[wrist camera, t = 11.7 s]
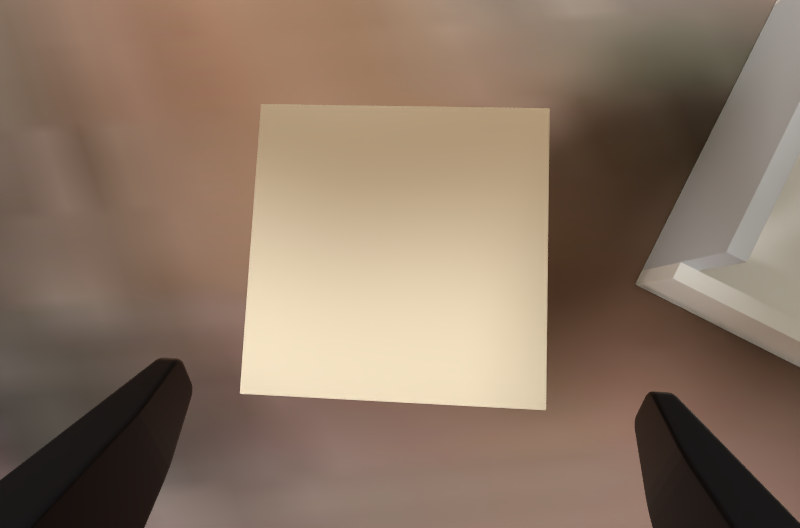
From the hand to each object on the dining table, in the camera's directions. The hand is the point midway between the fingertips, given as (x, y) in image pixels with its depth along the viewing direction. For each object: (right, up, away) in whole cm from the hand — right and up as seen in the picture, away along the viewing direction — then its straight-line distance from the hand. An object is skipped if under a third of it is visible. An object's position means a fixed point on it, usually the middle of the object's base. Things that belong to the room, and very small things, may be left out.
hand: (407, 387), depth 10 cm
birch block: (+1, +1, +10) cm, 10 cm away
